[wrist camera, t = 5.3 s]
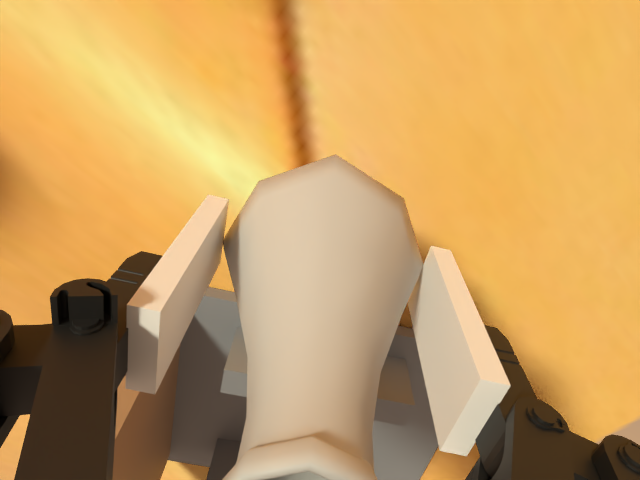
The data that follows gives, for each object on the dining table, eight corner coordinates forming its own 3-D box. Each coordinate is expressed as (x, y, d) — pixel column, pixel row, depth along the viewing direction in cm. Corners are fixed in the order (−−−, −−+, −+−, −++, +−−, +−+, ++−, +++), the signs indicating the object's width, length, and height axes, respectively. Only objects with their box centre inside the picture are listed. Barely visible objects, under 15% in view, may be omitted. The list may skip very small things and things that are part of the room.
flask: (455, 264, 17) (583, 554, 8) (310, 348, 19) (283, 644, 10) (340, 114, 14) (336, 288, 5) (191, 233, 16) (16, 491, 8)
